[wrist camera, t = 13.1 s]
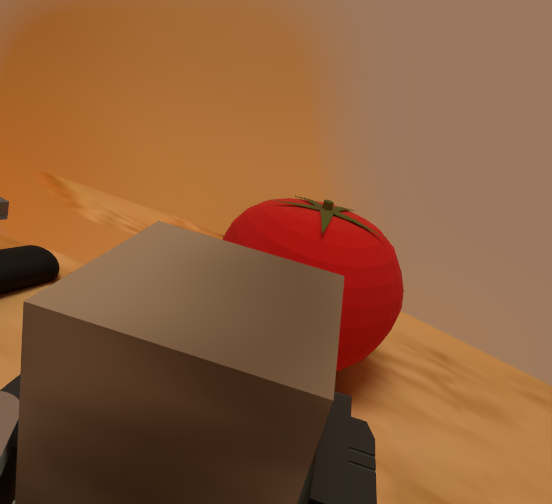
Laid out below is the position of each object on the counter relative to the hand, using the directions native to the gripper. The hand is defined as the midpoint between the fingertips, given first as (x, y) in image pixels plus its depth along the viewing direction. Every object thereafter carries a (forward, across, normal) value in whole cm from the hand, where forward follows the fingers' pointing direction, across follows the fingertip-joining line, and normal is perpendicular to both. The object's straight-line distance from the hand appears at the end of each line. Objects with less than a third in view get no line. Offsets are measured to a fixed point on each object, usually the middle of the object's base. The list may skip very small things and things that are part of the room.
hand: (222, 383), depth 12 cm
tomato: (+16, -1, +9) cm, 19 cm away
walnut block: (-3, 0, +8) cm, 8 cm away
